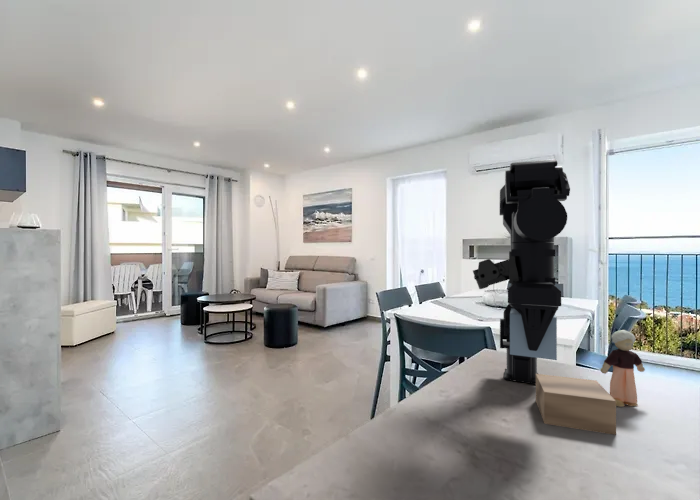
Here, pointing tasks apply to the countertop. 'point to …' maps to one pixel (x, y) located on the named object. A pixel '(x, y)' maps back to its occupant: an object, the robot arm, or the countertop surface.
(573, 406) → the tan flat block
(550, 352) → the slate-blue cube
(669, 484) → the countertop surface
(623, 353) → the grandmother figurine
